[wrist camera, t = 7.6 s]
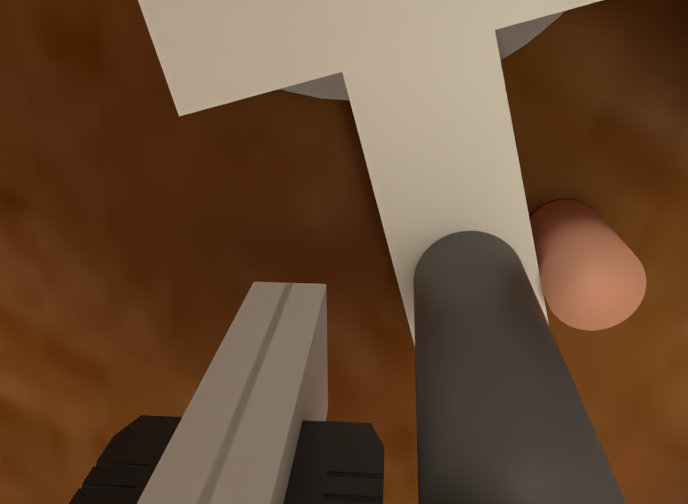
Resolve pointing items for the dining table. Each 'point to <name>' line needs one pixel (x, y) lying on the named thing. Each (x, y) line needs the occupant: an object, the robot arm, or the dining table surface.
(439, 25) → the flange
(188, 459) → the robot arm
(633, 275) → the dowel
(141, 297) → the dining table surface
